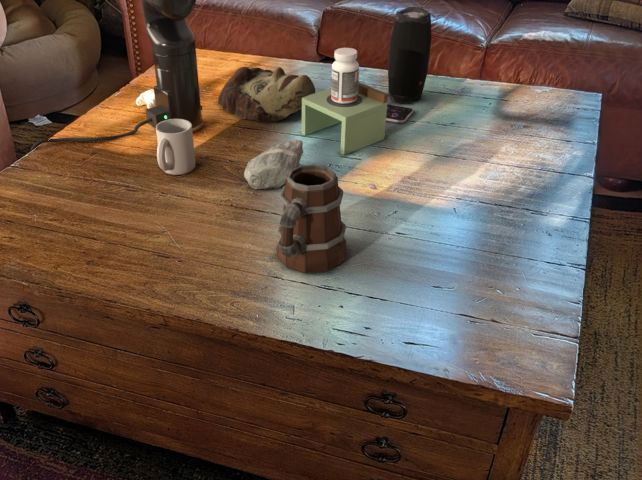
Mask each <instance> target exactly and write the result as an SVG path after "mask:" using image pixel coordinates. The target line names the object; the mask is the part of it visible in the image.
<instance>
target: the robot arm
mask: <svg viewBox="0 0 642 480" xmlns="http://www.w3.org/2000/svg"><path fill="white" fill-rule="evenodd" d="M140 2H141V6H142V7H141V8H142V13H143V18H144V24H145V29H146V34H147V37H148V39H149V41H150V43H151V49H152V50H151V51H152V57H153V64H154V65H153V66H154V73H155V80H156V85H154V86H153V89H154V95H155V103H156V107H153V108H149V109H148V108H147V109H145V117H146V119H145V120H143V121H140V122H138V123H137V124H136V125H135V126H134V128H133V129H132V130H130V131H128V132H126V133H122V134H117V135H109V136H99V137H98V136H97V137H59V138H43V139H39V140H37V141H36V142H35V143H34V144H33V145H31V147H30V151H31V150H32V151H33V150H36V149H37V147H38V146H40V145H41V144H46V143H63V142H82V143H83V142H84V143H85V142H90V143H91V142H92V143H93V142H100V141H101V142H103V141H111V140H116V139H121V138H123V137H127V136H132V135H134V134H136V133H137V132H138V130H139V129H140V128H141V127H142V126H145V125H147V124H148V125H149V126H151V127H153V128H154V129H156V125H157V124H158V123H160V122H162V121H165V120H169V119H184V120H187V121H189V122H190V123H191V125H192V133H193V134H194V133H197V132H198V131H200V130H201V129H202V128H203V126H204V120H203V115H202V112H203V106H202V104H201V103H202V102H201V93H200V81H199V71H198V59H197V58H198V57H197V49H196V38H195V34H194V32H193V31H192V30H191V29H192V28H191V27H190V26H189V24H188V21H187V18H188V17H189V16H190V15H191V14H192V13H193V11H194V9H195V7H196V3H197V0H141V1H140ZM49 139H50V140H49ZM48 140H49V141H48Z"/></svg>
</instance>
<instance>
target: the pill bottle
mask: <svg viewBox="0 0 642 480" xmlns="http://www.w3.org/2000/svg"><path fill="white" fill-rule="evenodd" d="M333 54H334V56H333V57H334V61H333V62H332V64H331V77H330V78H331V80H330V81H331V82H330V83H331V85H330V88H331V99H332V100H333V101H334V102H336V103H341V104H348V103H352V102H355V101H356V100H357V98H358V82H360V79H359V78H360V64H359V62H358V61H357V58H358V50H356V49H355V48H352V47H339V48H337V49H334V53H333Z"/></svg>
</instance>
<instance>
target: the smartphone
mask: <svg viewBox="0 0 642 480" xmlns="http://www.w3.org/2000/svg"><path fill="white" fill-rule="evenodd" d="M413 113H414V109H413V108H411V107H407V106H402V105H395V104H389V103H387V113H386V122H393V123H400V124H401V123H405V122H406V121H407V120H408V119H409V118H410V117H411V116H412V114H413Z"/></svg>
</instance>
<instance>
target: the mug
mask: <svg viewBox="0 0 642 480" xmlns="http://www.w3.org/2000/svg"><path fill="white" fill-rule="evenodd" d="M338 178H339V177H338V176H337V173H336V172H335V171H333V170H332V169H331V168H330V167H329V166H325V165H322V164H321V165H320V164H317V163H316V164H315V163H314V164H305V165H304V164H303V165H298V166H297V168H295V169H293V170H291V171H290V173H289V175H288V177H287V180H286V183H285V184H284V185H283V187H282V190H281V192H280V194H279V201H280V202H281V203H282V204H283V207H282V208H283V210H282V213H281V218H280V221H279V224H278V229H277V231H276V236H277V237H278V238H279V240H278V244H277V246H276V257H277V258H278V259H279V261H280V262H281V263H282V264H283V265H284V267H285V268H287V269H291V270H294V271H298V272H301V273H304V274H309V273H320V272H329V271H330V270H332V269H334V268H335V267H337V266H339V265H340V264H342V263H344V260H345V256H346V251H347V241H346V238H345V234H346V230H347V226H346V224H345V223H344V222H343V221H342V215H341V205H342V200H343V197H344V190H343V189H342V188H341V187H340V185H339V179H338Z"/></svg>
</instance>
